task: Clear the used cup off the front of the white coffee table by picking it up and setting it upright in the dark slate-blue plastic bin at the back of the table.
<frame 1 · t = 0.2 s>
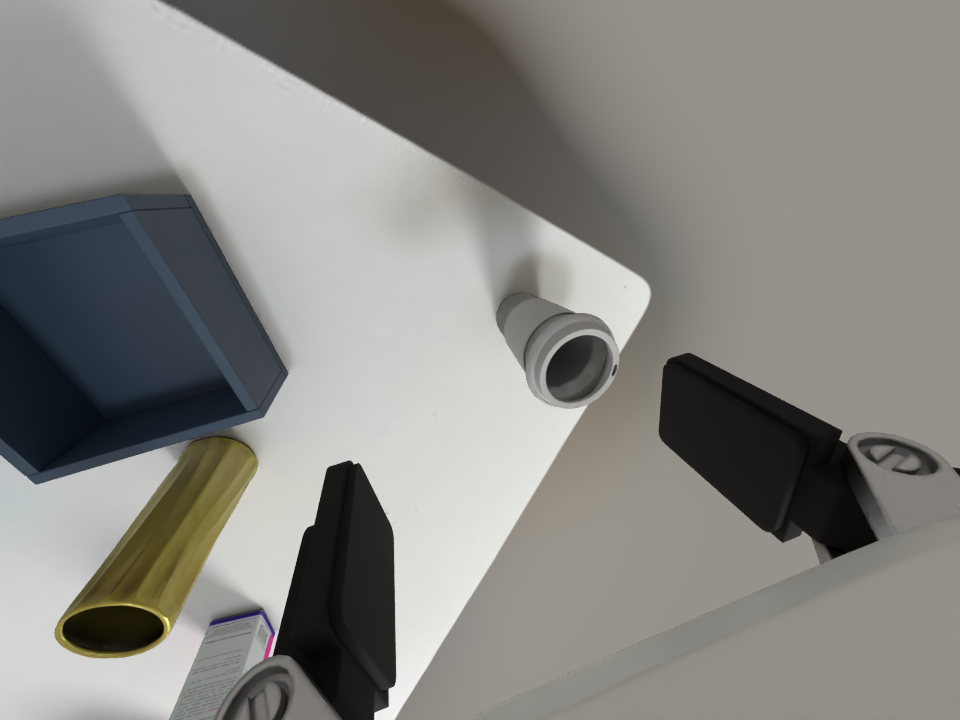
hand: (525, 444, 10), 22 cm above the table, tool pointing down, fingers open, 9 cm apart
vase: (221, 460, 32), on the table
cup: (518, 315, 33), on the table
supplement box: (244, 626, 42), on the table
bin: (146, 320, 26), on the table
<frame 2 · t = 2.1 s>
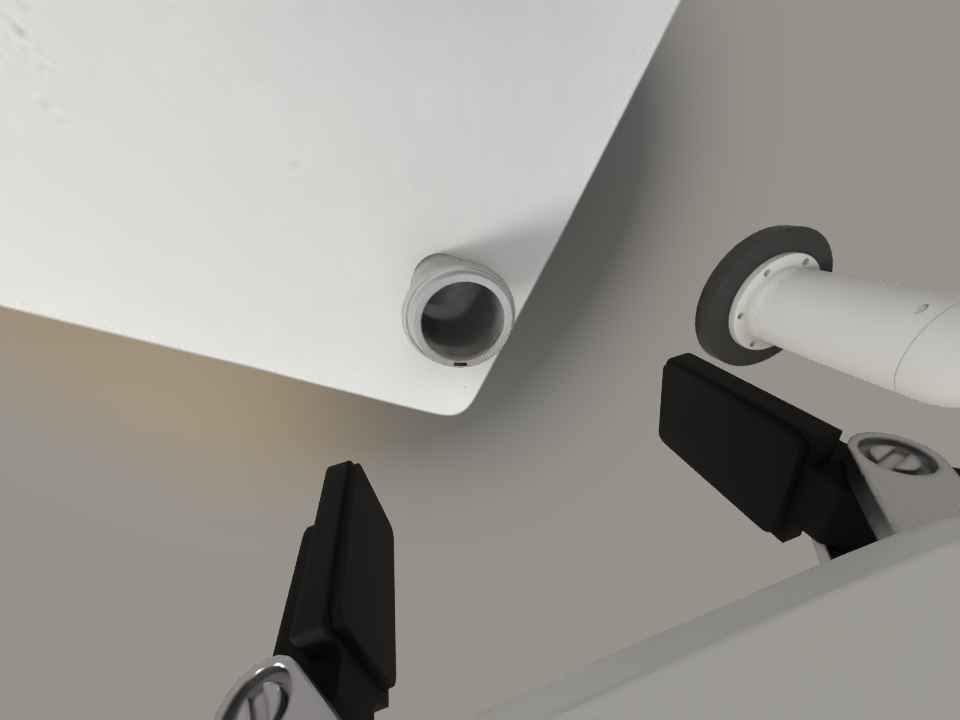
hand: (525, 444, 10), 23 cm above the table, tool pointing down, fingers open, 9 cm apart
cup: (438, 279, 31), on the table
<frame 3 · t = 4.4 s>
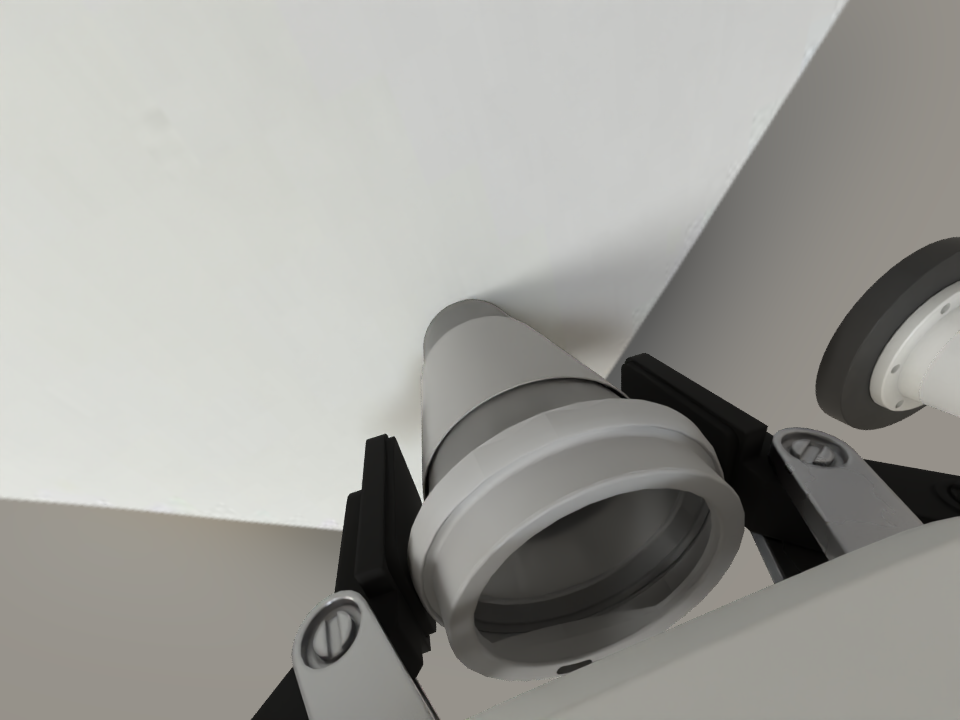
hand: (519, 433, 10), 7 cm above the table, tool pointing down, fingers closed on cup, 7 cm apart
cup: (469, 343, 17), on the table, touching gripper
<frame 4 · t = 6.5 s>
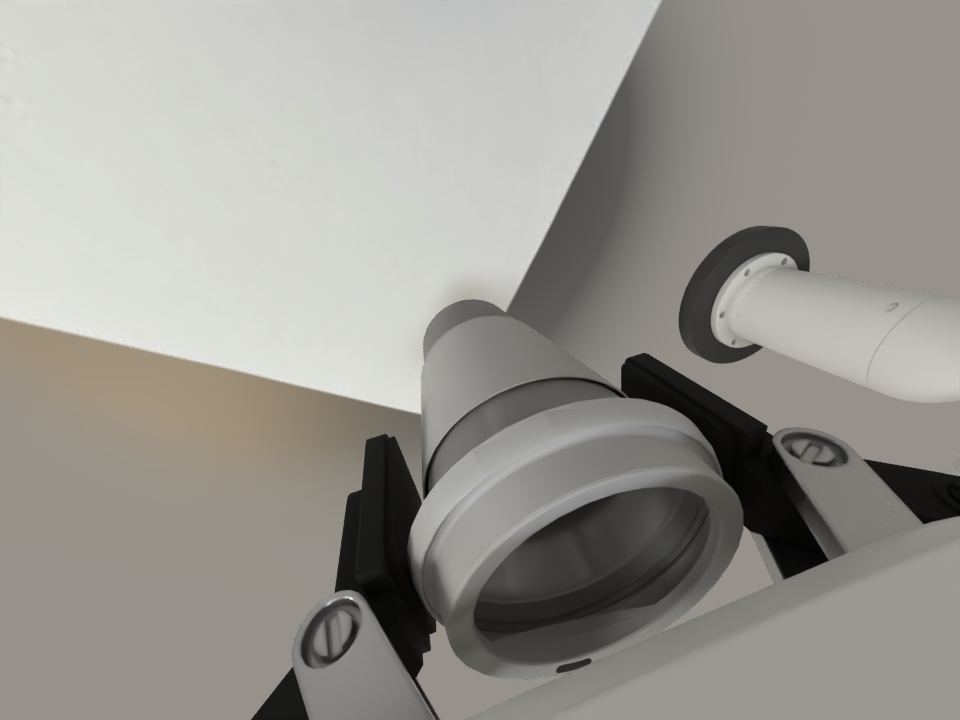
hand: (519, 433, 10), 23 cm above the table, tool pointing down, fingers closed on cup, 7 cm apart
cup: (469, 343, 17), point 15 cm above the table, touching gripper
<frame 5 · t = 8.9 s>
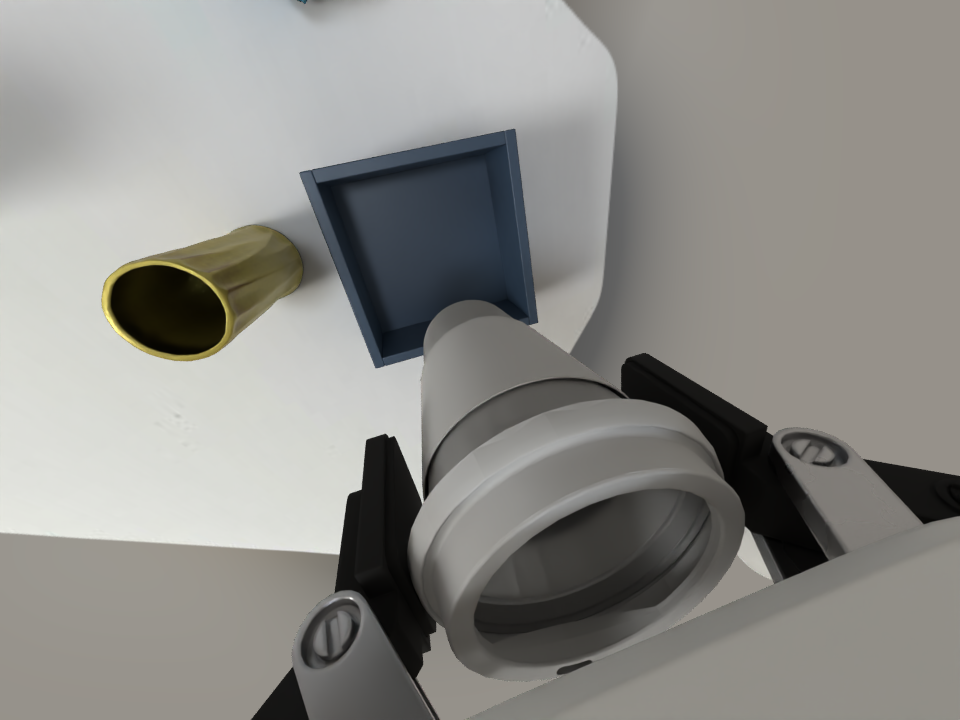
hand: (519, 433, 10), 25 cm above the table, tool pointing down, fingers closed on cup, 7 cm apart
vase: (264, 262, 29), on the table
cup: (469, 343, 17), point 18 cm above the table, touching gripper
bin: (429, 248, 32), on the table
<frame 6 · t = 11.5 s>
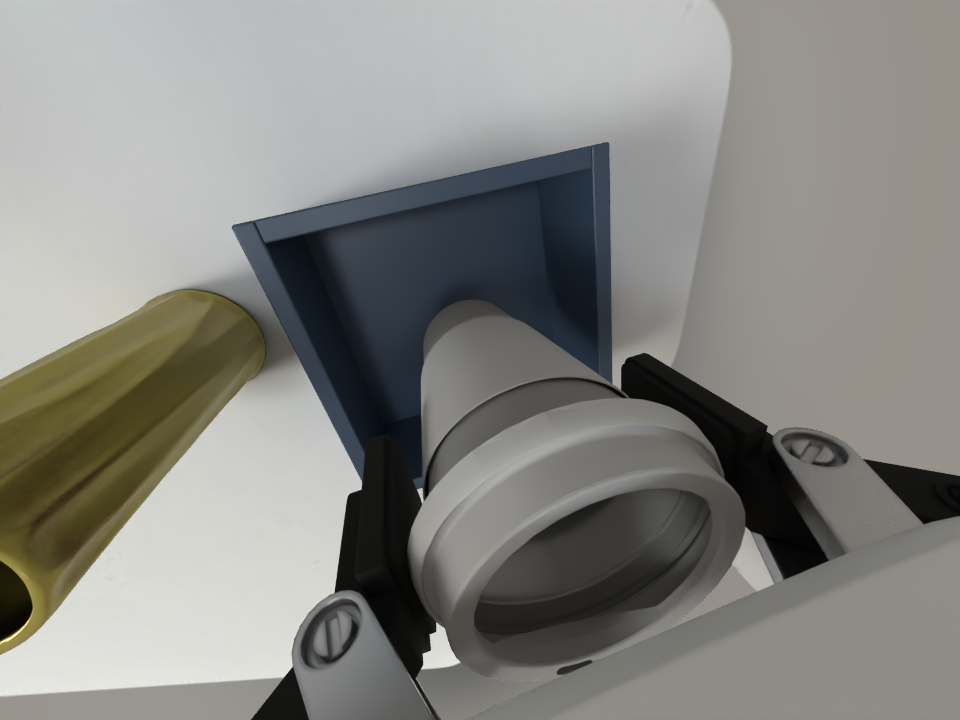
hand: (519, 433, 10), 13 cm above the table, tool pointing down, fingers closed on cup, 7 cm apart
vase: (207, 340, 19), on the table
cup: (469, 343, 17), point 6 cm above the table, touching gripper
bin: (450, 309, 22), on the table
when the fingers open (8 cm above the table, at t = 13.4 s): cup stays where it is, resting on bin.
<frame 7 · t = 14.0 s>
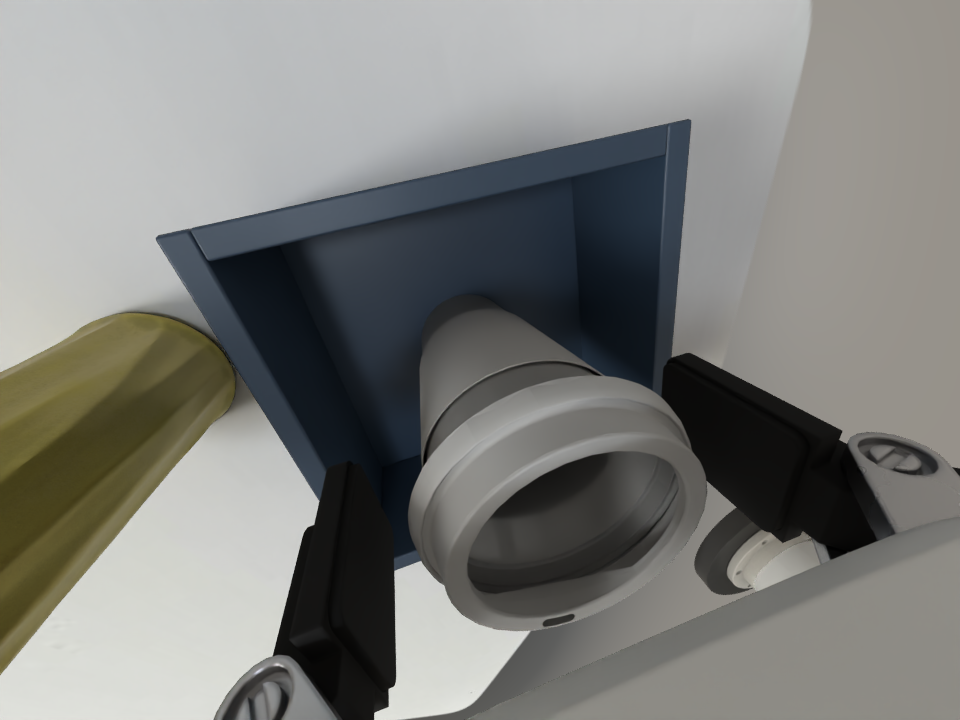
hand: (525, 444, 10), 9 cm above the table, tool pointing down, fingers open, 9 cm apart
vase: (162, 373, 16), on the table
cup: (465, 336, 18), point 1 cm above the table, touching bin
bin: (461, 331, 18), on the table
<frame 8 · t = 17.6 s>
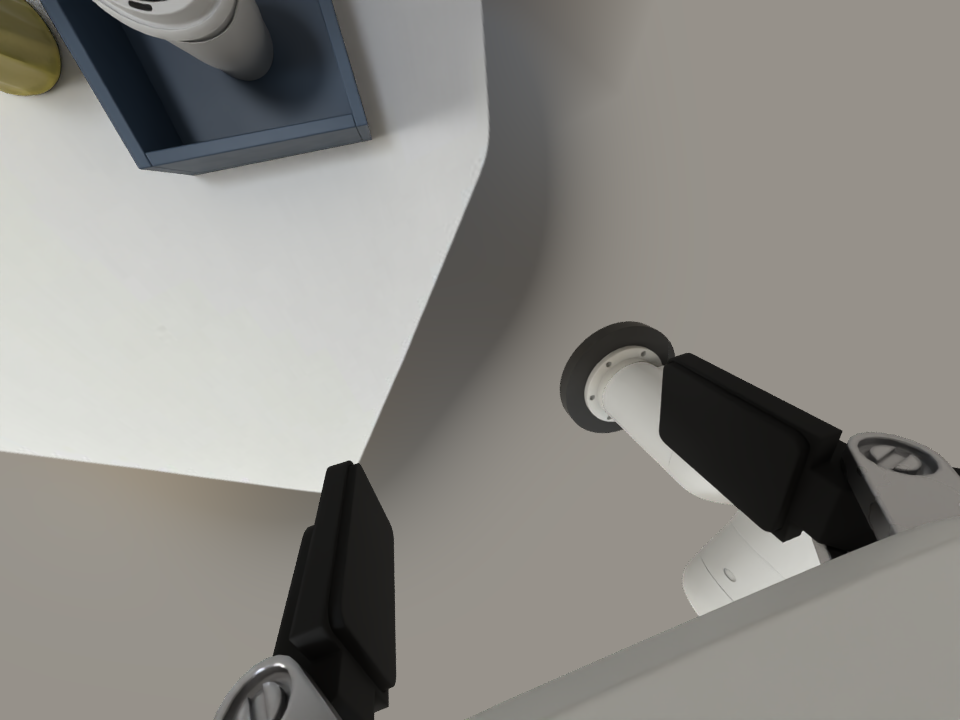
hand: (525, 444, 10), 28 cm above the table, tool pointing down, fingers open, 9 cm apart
vase: (3, 39, 22), on the table
cup: (238, 41, 24), point 1 cm above the table, touching bin
bin: (239, 43, 25), on the table
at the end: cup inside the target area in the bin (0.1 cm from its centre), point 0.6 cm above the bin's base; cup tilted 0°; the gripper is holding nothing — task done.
